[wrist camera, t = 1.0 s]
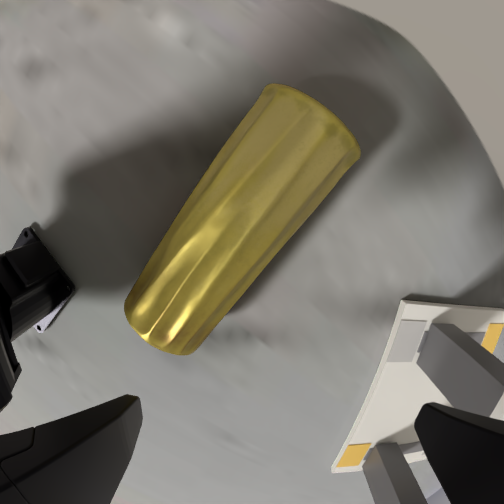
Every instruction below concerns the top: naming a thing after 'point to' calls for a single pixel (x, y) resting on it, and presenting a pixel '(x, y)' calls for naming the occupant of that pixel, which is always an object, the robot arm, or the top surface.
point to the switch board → (409, 379)
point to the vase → (239, 217)
